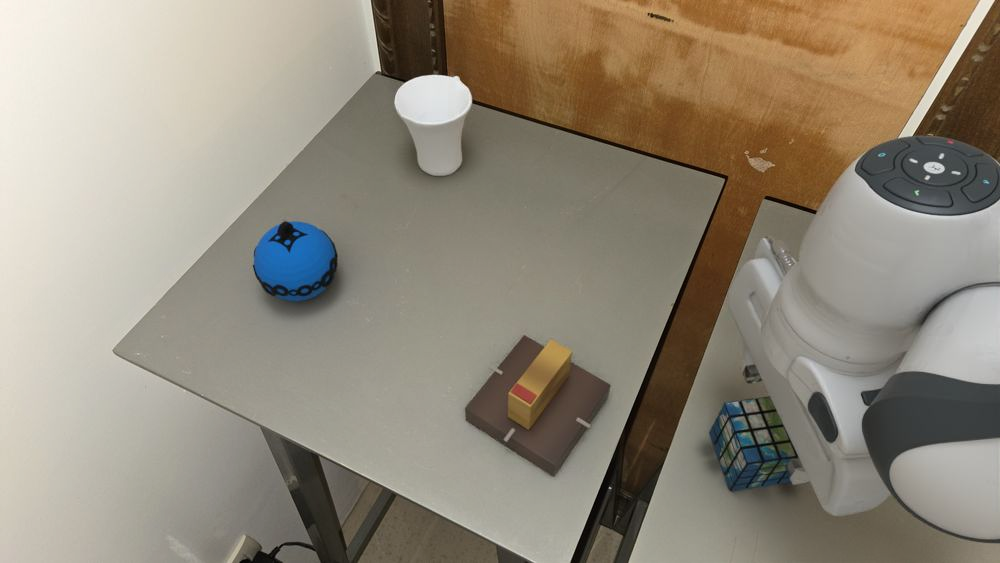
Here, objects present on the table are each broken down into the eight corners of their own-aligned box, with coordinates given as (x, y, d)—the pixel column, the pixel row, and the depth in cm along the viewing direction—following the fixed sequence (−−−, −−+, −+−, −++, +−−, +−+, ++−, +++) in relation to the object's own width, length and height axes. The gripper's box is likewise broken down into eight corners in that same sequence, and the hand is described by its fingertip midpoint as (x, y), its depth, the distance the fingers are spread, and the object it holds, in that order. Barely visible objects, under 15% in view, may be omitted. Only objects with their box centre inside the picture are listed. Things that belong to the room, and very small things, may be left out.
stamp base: (616, 396, 74) (620, 382, 72) (555, 485, 68) (557, 474, 66) (521, 341, 78) (522, 326, 76) (456, 421, 72) (455, 408, 70)
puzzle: (729, 492, 68) (746, 464, 63) (708, 431, 72) (723, 401, 67) (792, 482, 69) (814, 454, 64) (768, 423, 72) (787, 392, 68)
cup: (490, 155, 95) (489, 91, 87) (440, 197, 90) (434, 133, 82) (437, 125, 98) (432, 60, 90) (387, 163, 94) (377, 99, 86)
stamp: (548, 363, 73) (551, 336, 70) (569, 376, 72) (573, 349, 69) (507, 416, 70) (507, 391, 66) (528, 430, 69) (530, 405, 65)
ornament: (309, 330, 79) (288, 271, 71) (247, 295, 81) (220, 235, 73) (360, 275, 83) (345, 213, 75) (299, 243, 86) (279, 181, 78)
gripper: (732, 229, 59) (695, 329, 70) (857, 474, 46) (788, 548, 57) (807, 218, 59) (759, 318, 70) (950, 455, 47) (865, 532, 58)
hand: (773, 423), depth 64 cm, fingers open, 8 cm apart
